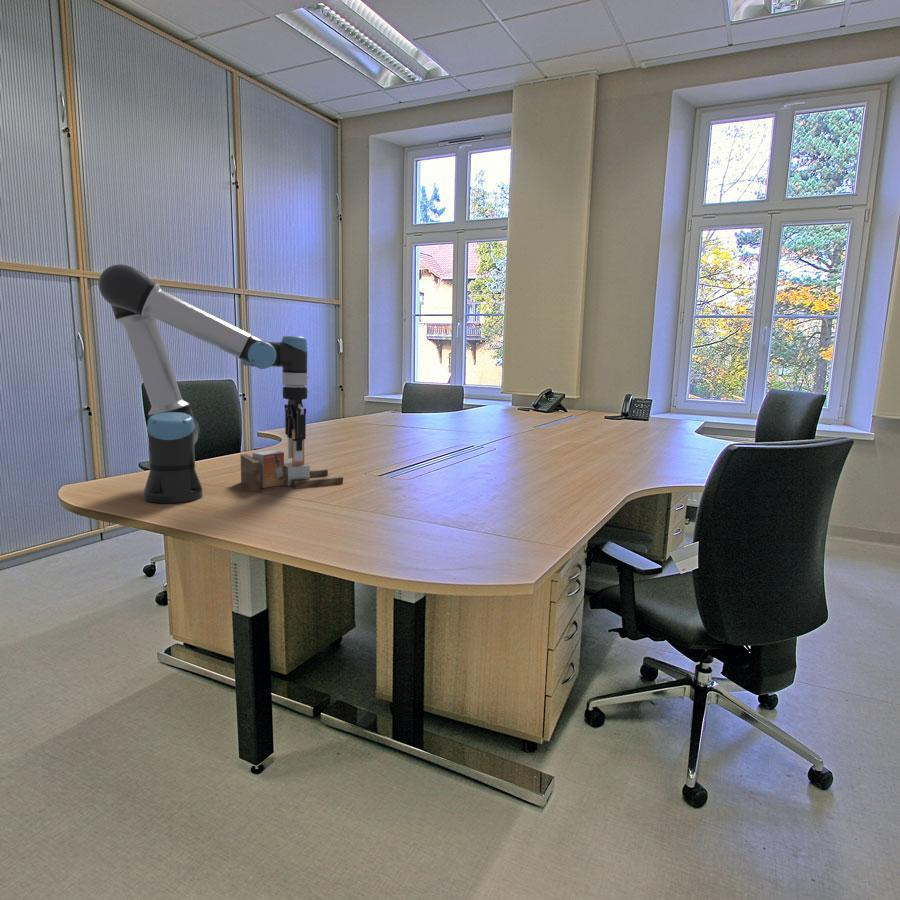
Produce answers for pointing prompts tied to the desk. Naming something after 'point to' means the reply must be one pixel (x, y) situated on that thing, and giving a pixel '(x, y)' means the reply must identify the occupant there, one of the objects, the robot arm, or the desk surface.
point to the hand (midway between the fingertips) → (295, 459)
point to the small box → (271, 468)
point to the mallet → (295, 468)
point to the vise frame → (253, 481)
